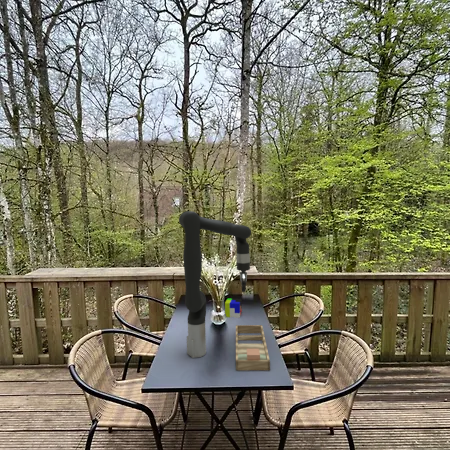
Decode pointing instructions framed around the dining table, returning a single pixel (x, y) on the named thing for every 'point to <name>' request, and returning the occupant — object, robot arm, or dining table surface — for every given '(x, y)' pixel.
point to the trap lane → (242, 348)
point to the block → (253, 354)
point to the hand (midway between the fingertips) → (243, 291)
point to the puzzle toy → (233, 308)
